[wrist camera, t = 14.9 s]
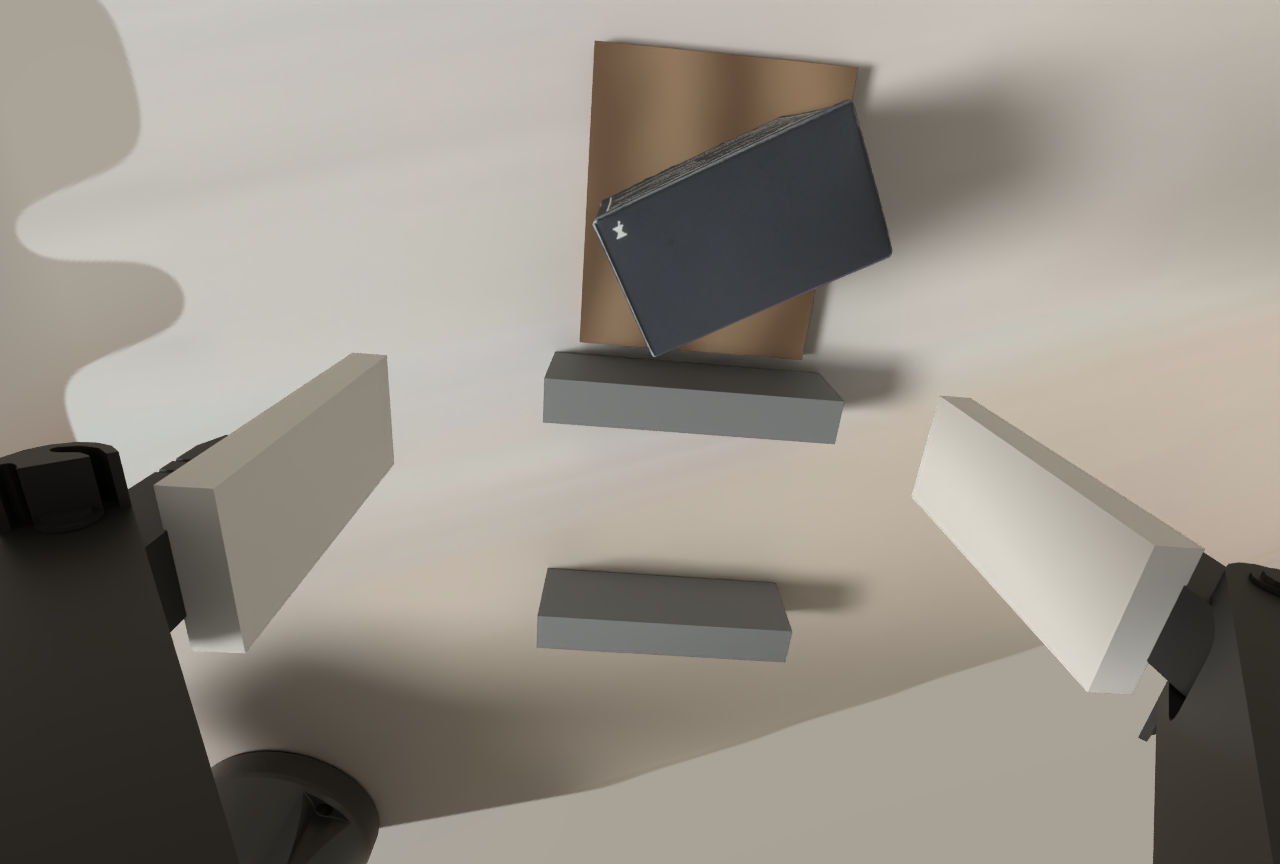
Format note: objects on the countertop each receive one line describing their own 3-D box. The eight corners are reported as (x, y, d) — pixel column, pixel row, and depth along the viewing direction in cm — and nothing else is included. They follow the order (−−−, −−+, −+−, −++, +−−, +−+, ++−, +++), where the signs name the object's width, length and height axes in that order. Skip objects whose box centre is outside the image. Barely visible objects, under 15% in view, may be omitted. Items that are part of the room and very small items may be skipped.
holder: (546, 597, 45) (536, 647, 40) (555, 352, 38) (544, 378, 33) (769, 611, 45) (785, 662, 41) (818, 373, 38) (844, 401, 34)
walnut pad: (581, 337, 37) (579, 342, 36) (595, 44, 31) (594, 40, 30) (797, 355, 38) (801, 360, 37) (851, 70, 32) (858, 67, 31)
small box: (645, 313, 36) (650, 368, 26) (596, 201, 33) (581, 216, 24) (824, 234, 34) (900, 262, 24) (785, 111, 32) (853, 87, 22)
